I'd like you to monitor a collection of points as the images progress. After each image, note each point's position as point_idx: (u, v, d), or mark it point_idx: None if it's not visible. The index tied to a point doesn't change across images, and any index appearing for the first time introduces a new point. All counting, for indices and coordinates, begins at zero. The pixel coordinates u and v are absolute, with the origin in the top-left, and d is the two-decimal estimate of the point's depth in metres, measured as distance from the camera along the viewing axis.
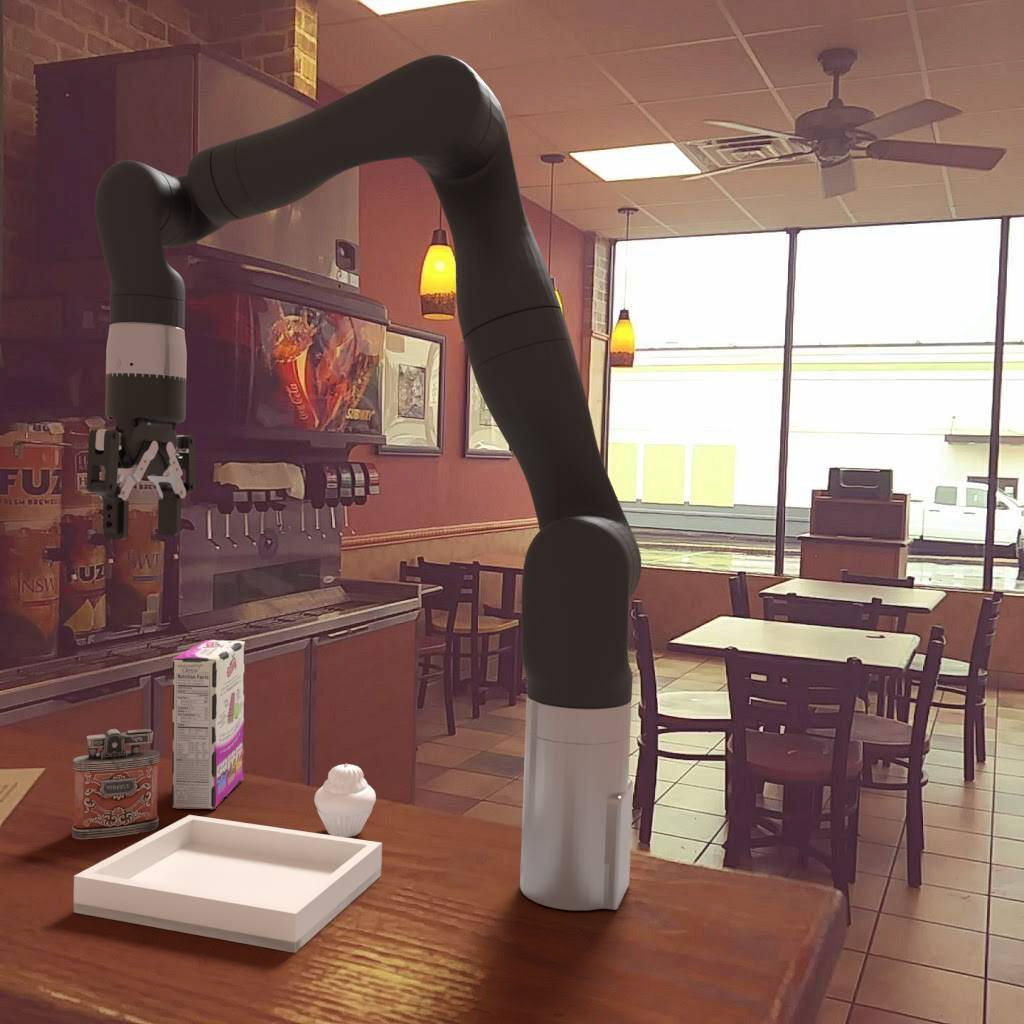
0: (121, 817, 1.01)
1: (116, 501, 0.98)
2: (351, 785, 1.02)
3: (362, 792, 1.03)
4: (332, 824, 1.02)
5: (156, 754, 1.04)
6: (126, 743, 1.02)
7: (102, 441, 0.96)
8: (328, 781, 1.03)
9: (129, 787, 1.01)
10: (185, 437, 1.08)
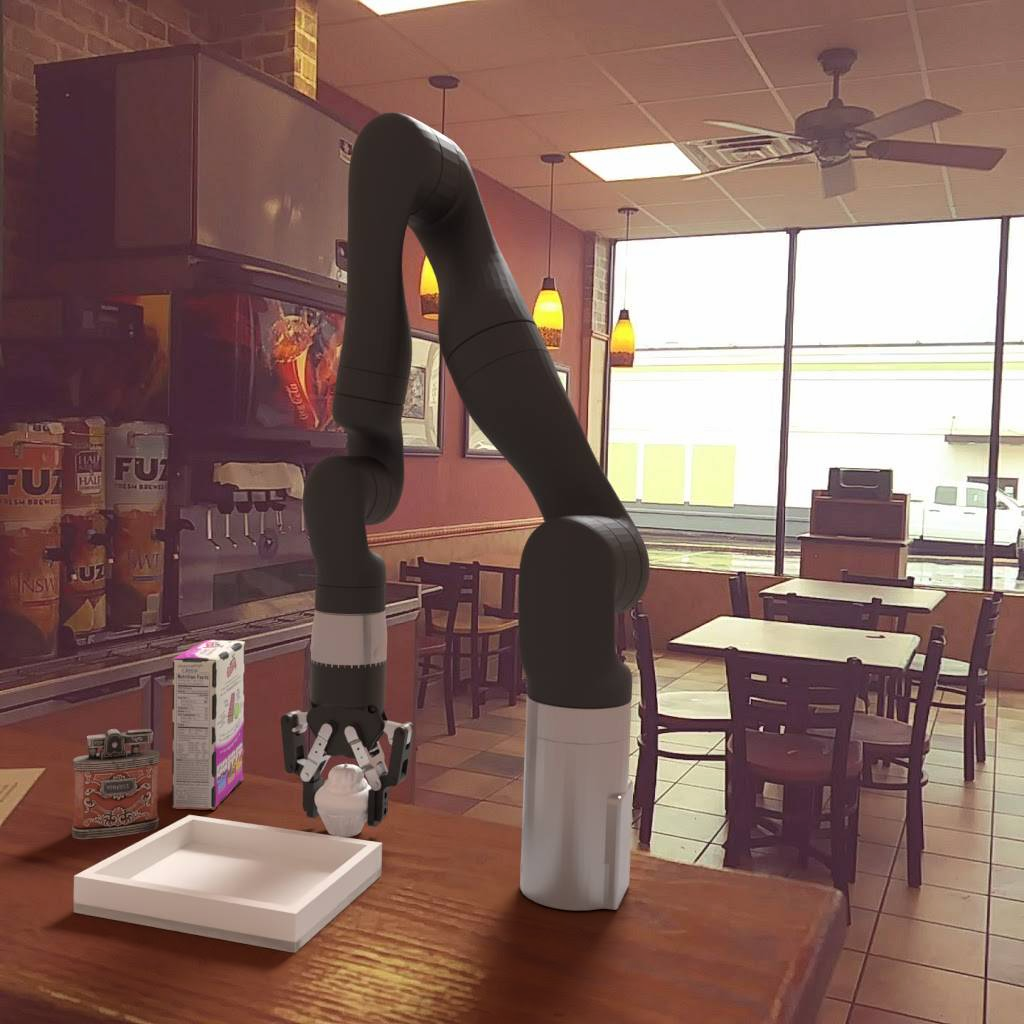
0: (121, 817, 1.01)
1: None
2: (351, 785, 1.02)
3: (362, 791, 1.03)
4: (332, 824, 1.02)
5: (156, 754, 1.04)
6: (126, 743, 1.02)
7: (410, 736, 1.02)
8: (329, 781, 1.03)
9: (129, 787, 1.01)
10: (298, 712, 1.06)
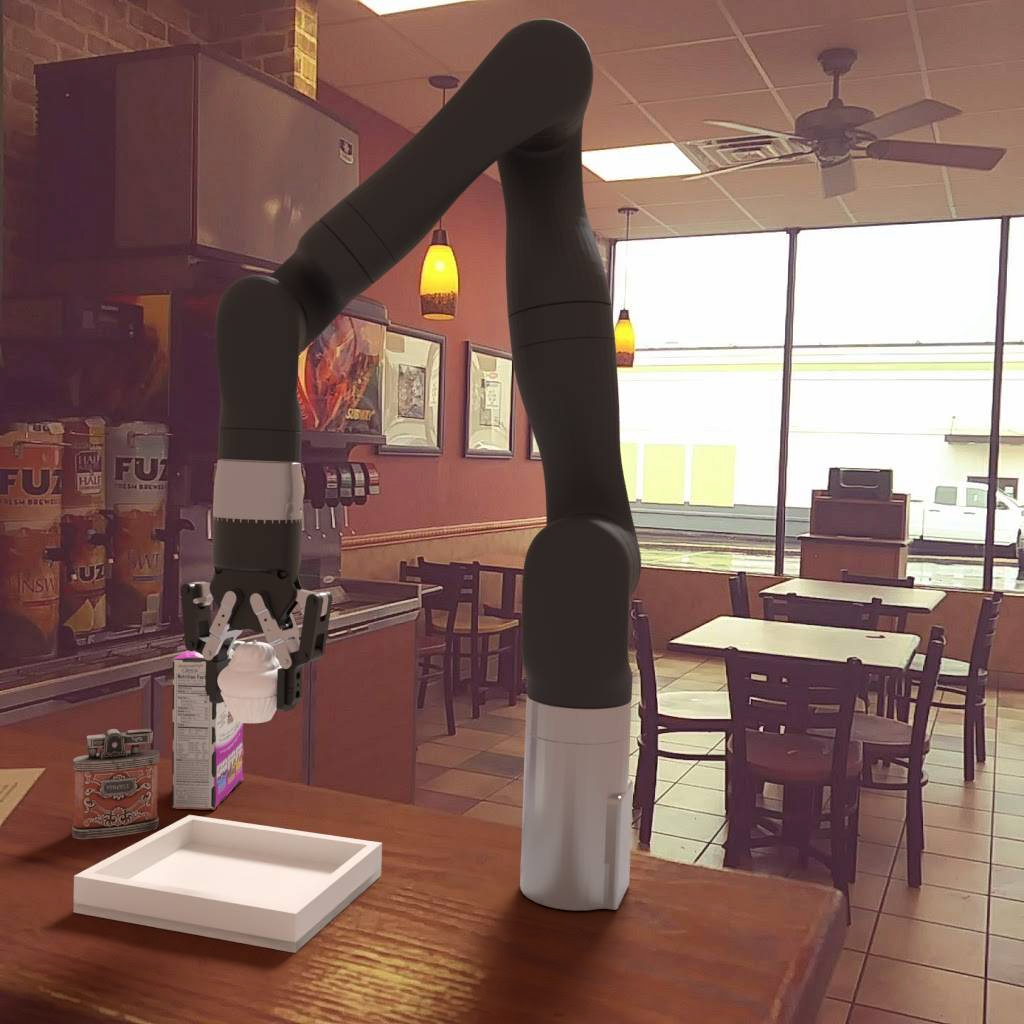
0: (121, 817, 1.01)
1: None
2: (258, 663, 0.88)
3: (272, 671, 0.89)
4: (236, 707, 0.88)
5: (156, 753, 1.04)
6: (126, 743, 1.02)
7: (326, 607, 0.88)
8: (234, 659, 0.89)
9: (129, 787, 1.01)
10: None
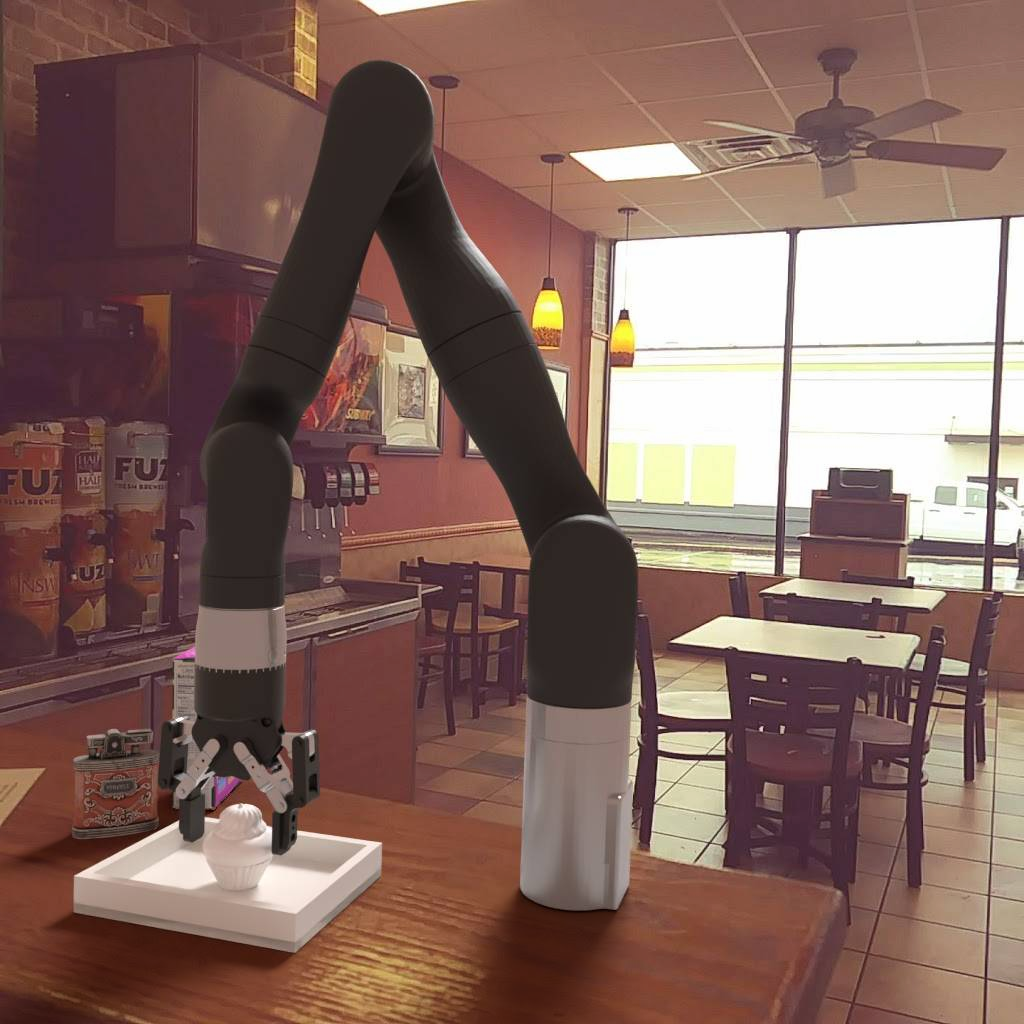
0: (121, 817, 1.01)
1: None
2: (245, 830, 0.87)
3: (259, 837, 0.87)
4: (223, 876, 0.86)
5: (156, 753, 1.04)
6: (126, 743, 1.02)
7: (313, 746, 0.86)
8: (219, 825, 0.87)
9: (129, 787, 1.01)
10: (185, 719, 0.90)
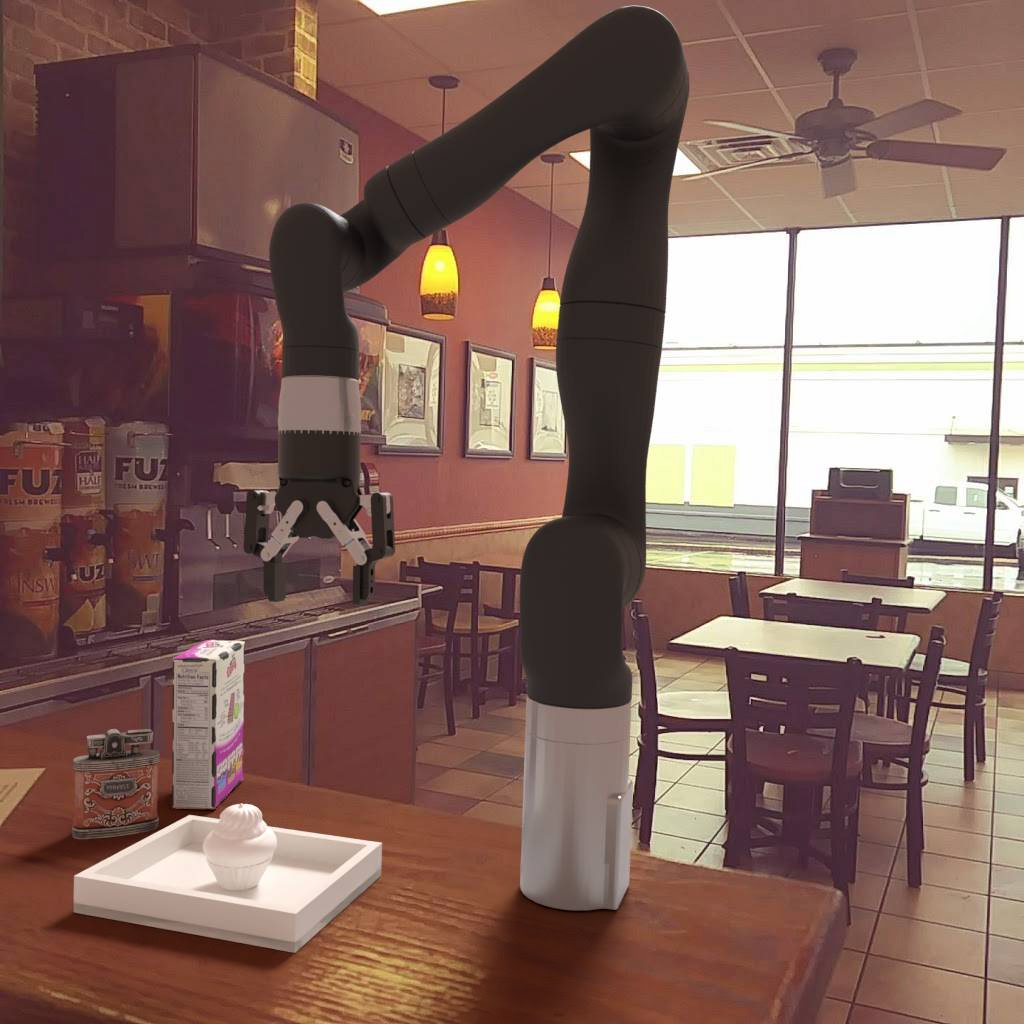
0: (121, 817, 1.01)
1: None
2: (245, 829, 0.87)
3: (259, 837, 0.87)
4: (223, 876, 0.86)
5: (156, 754, 1.04)
6: (126, 743, 1.02)
7: (389, 505, 0.94)
8: (219, 825, 0.87)
9: (129, 787, 1.01)
10: None
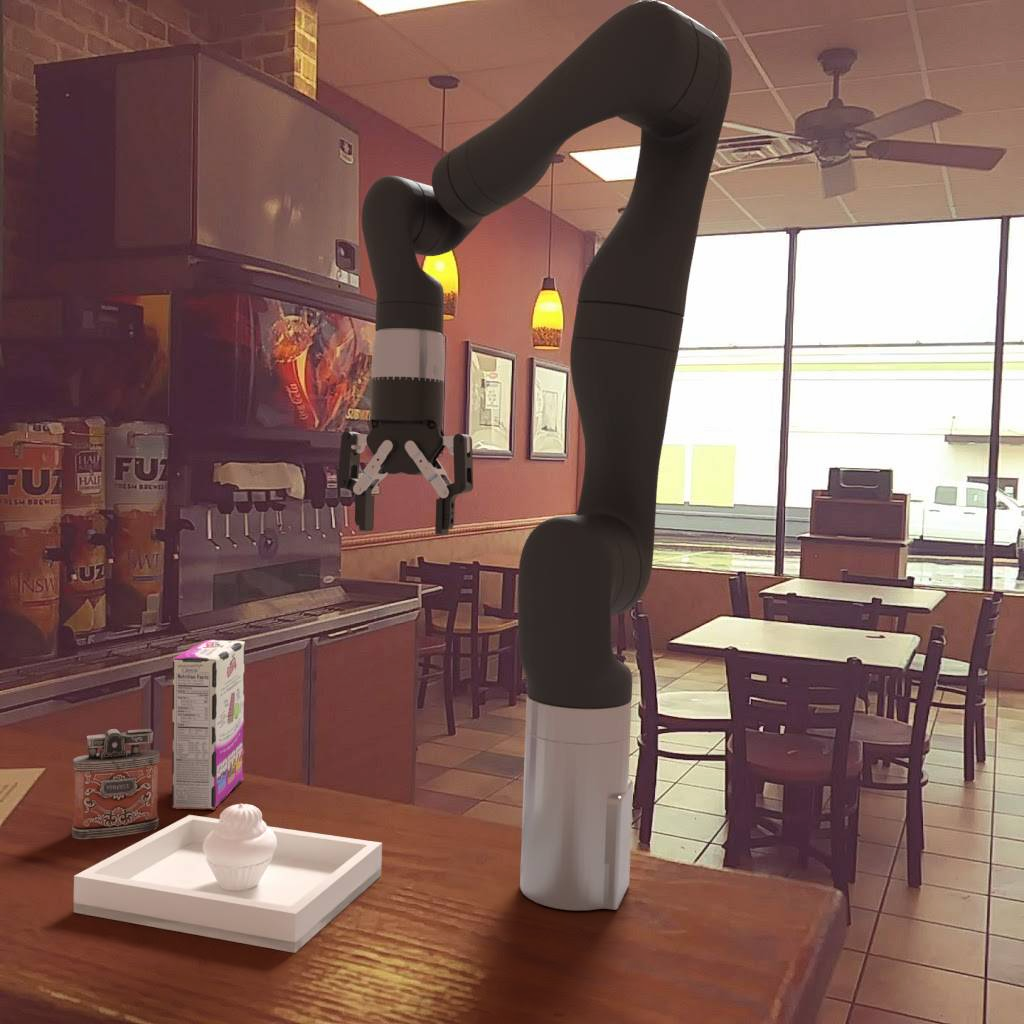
0: (121, 817, 1.01)
1: None
2: (245, 830, 0.87)
3: (259, 837, 0.87)
4: (223, 876, 0.86)
5: (156, 754, 1.04)
6: (126, 743, 1.02)
7: (469, 445, 1.06)
8: (219, 825, 0.87)
9: (129, 787, 1.01)
10: None
